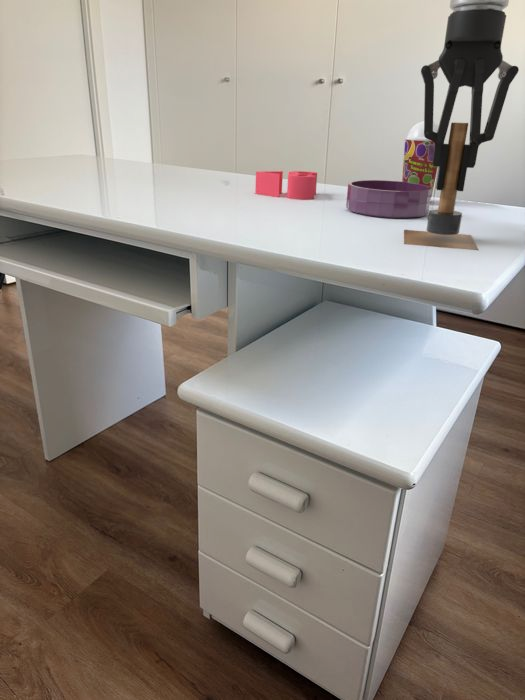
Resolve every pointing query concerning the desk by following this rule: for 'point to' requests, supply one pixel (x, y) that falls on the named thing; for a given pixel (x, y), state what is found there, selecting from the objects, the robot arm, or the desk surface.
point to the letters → (298, 184)
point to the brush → (450, 185)
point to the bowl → (388, 198)
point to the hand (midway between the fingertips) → (449, 189)
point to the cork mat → (439, 240)
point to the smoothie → (419, 157)
